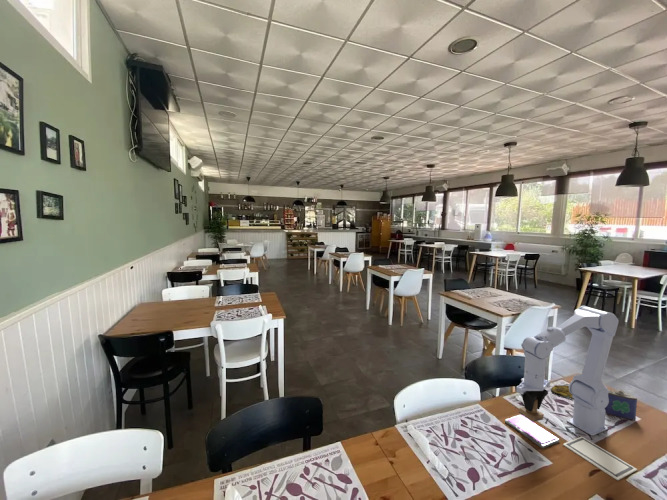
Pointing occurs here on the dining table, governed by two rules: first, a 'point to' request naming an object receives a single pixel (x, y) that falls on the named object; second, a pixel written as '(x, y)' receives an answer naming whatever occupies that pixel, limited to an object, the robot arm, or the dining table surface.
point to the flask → (621, 405)
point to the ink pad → (532, 431)
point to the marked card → (600, 458)
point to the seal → (562, 391)
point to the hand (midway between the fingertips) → (532, 408)
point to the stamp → (532, 413)
